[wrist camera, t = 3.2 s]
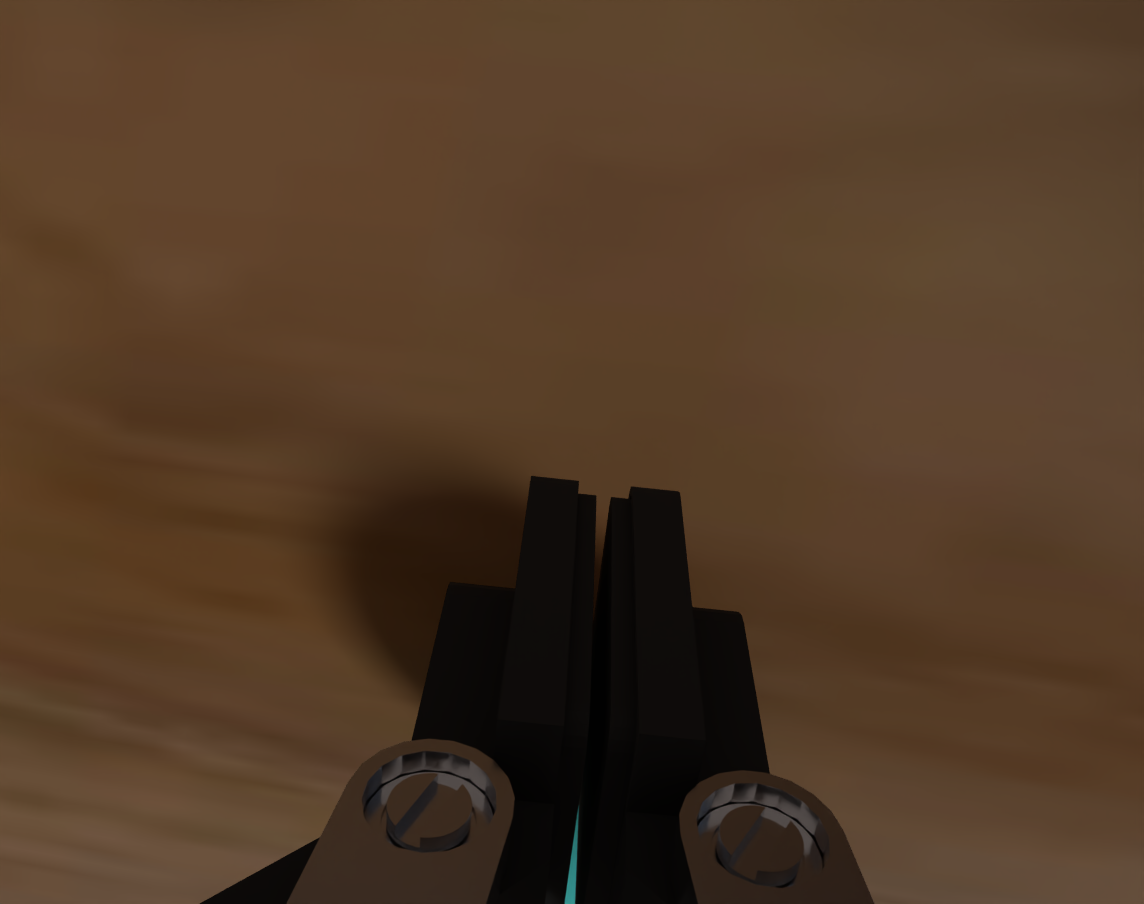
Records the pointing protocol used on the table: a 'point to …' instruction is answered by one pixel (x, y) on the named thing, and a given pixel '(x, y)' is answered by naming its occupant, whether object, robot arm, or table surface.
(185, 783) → the table surface
